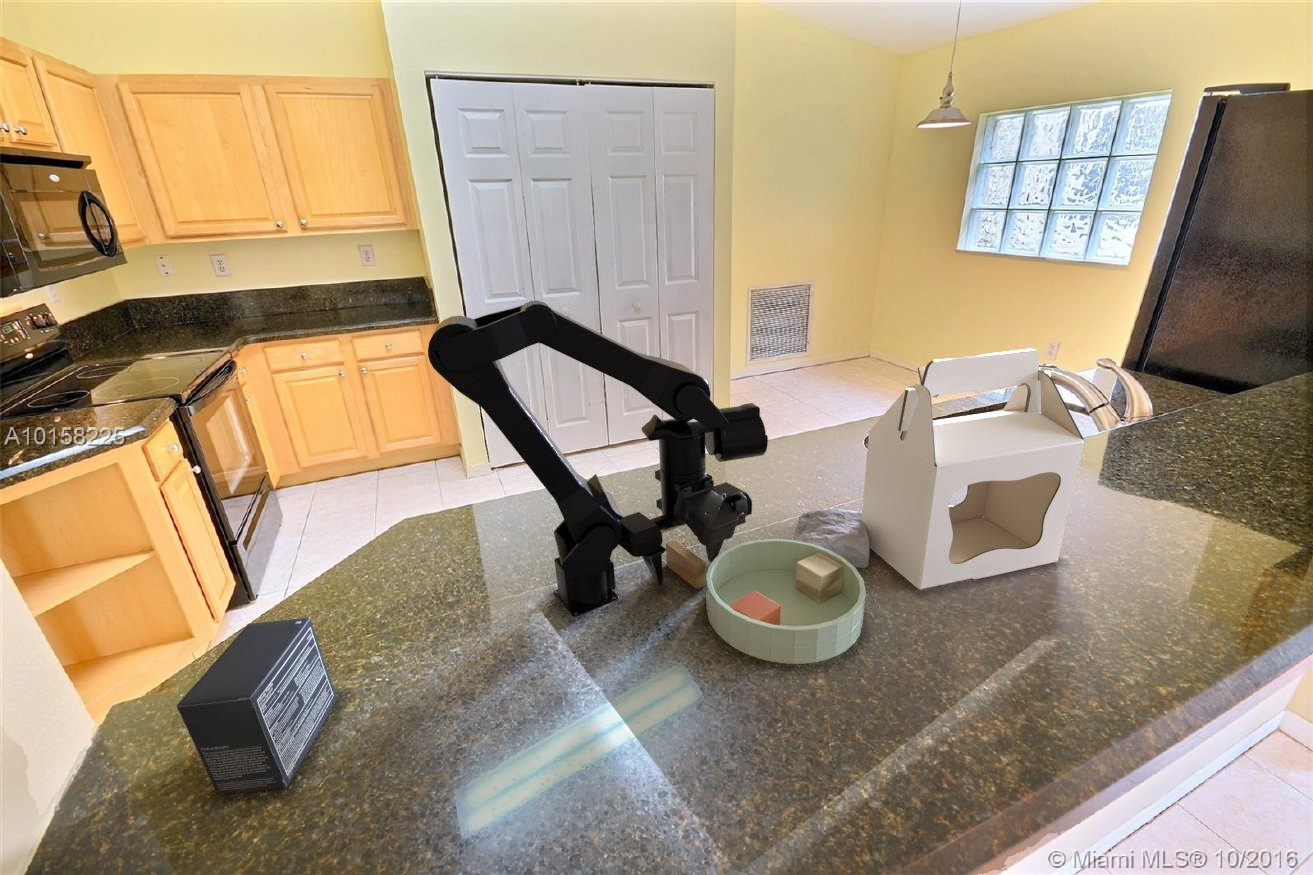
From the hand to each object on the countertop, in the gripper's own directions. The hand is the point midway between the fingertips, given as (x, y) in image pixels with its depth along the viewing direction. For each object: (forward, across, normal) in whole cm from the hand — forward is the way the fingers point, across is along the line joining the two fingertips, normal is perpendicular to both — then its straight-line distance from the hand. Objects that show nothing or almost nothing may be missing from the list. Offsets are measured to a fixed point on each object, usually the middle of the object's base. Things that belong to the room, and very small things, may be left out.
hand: (686, 572), depth 77 cm
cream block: (0, +11, -13) cm, 17 cm away
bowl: (+1, +5, -13) cm, 14 cm away
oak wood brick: (+1, 0, 0) cm, 1 cm away
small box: (+1, -47, +1) cm, 47 cm away
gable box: (+1, +34, -17) cm, 38 cm away
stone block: (+1, +21, -6) cm, 22 cm away
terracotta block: (0, -1, -14) cm, 14 cm away
